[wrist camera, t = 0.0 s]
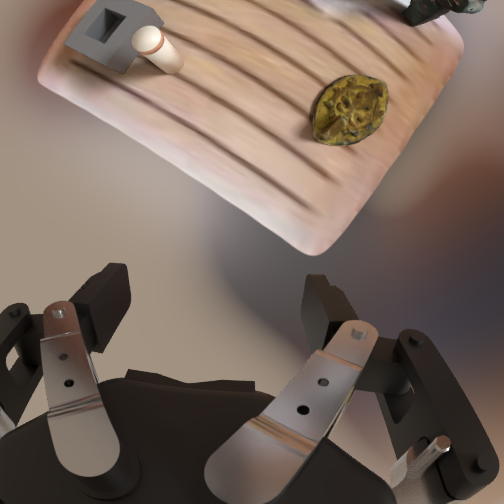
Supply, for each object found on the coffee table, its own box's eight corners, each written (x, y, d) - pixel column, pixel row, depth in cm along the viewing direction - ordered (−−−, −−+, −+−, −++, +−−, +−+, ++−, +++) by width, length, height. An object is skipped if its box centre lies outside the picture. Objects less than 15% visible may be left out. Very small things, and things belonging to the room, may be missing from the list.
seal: (358, 61, 33) (293, 120, 37) (367, 51, 29) (296, 114, 32) (399, 105, 35) (338, 165, 39) (413, 100, 30) (347, 165, 34)
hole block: (83, 52, 30) (63, 44, 24) (120, 4, 27) (105, -10, 21) (123, 74, 32) (105, 66, 27) (164, 23, 29) (152, 8, 24)
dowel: (162, 55, 31) (133, 27, 20) (184, 53, 32) (162, 23, 20) (160, 75, 33) (129, 53, 22) (182, 73, 33) (158, 49, 22)
